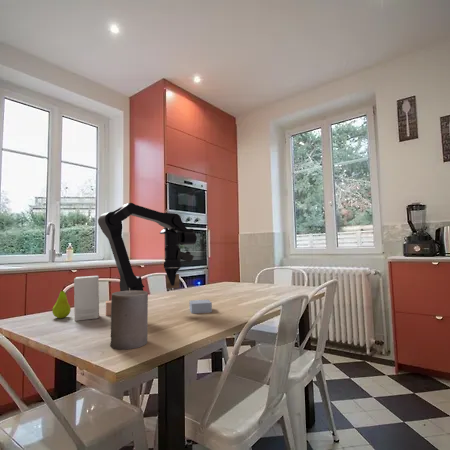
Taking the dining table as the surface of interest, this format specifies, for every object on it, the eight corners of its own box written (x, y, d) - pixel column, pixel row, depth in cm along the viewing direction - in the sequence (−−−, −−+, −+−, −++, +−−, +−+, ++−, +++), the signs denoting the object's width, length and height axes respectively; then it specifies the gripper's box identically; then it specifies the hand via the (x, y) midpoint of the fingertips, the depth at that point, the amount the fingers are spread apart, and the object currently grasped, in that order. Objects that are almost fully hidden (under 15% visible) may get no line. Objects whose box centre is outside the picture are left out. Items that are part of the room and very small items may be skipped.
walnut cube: (179, 287, 119) (179, 274, 119) (166, 288, 118) (166, 275, 119) (179, 286, 124) (178, 273, 124) (166, 286, 123) (166, 274, 124)
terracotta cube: (119, 314, 121) (119, 301, 121) (105, 315, 119) (106, 302, 119) (118, 312, 125) (118, 299, 126) (105, 313, 123) (105, 301, 124)
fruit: (48, 319, 115) (48, 286, 116) (63, 315, 121) (64, 284, 121) (59, 320, 112) (59, 287, 113) (74, 317, 118) (74, 285, 119)
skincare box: (99, 315, 119) (99, 275, 121) (98, 319, 113) (98, 276, 114) (75, 317, 117) (76, 276, 118) (73, 321, 110) (73, 277, 112)
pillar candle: (102, 347, 80) (103, 289, 81) (127, 336, 89) (128, 284, 90) (131, 352, 76) (132, 291, 77) (155, 340, 85) (155, 286, 86)
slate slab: (211, 312, 121) (211, 302, 122) (191, 314, 120) (191, 303, 120) (208, 309, 129) (208, 299, 130) (189, 310, 127) (189, 300, 128)
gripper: (193, 244, 114) (194, 286, 113) (191, 244, 133) (191, 281, 132) (163, 245, 113) (164, 288, 112) (165, 245, 131) (165, 282, 130)
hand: (172, 284), depth 121 cm, fingers closed on walnut cube, 5 cm apart
